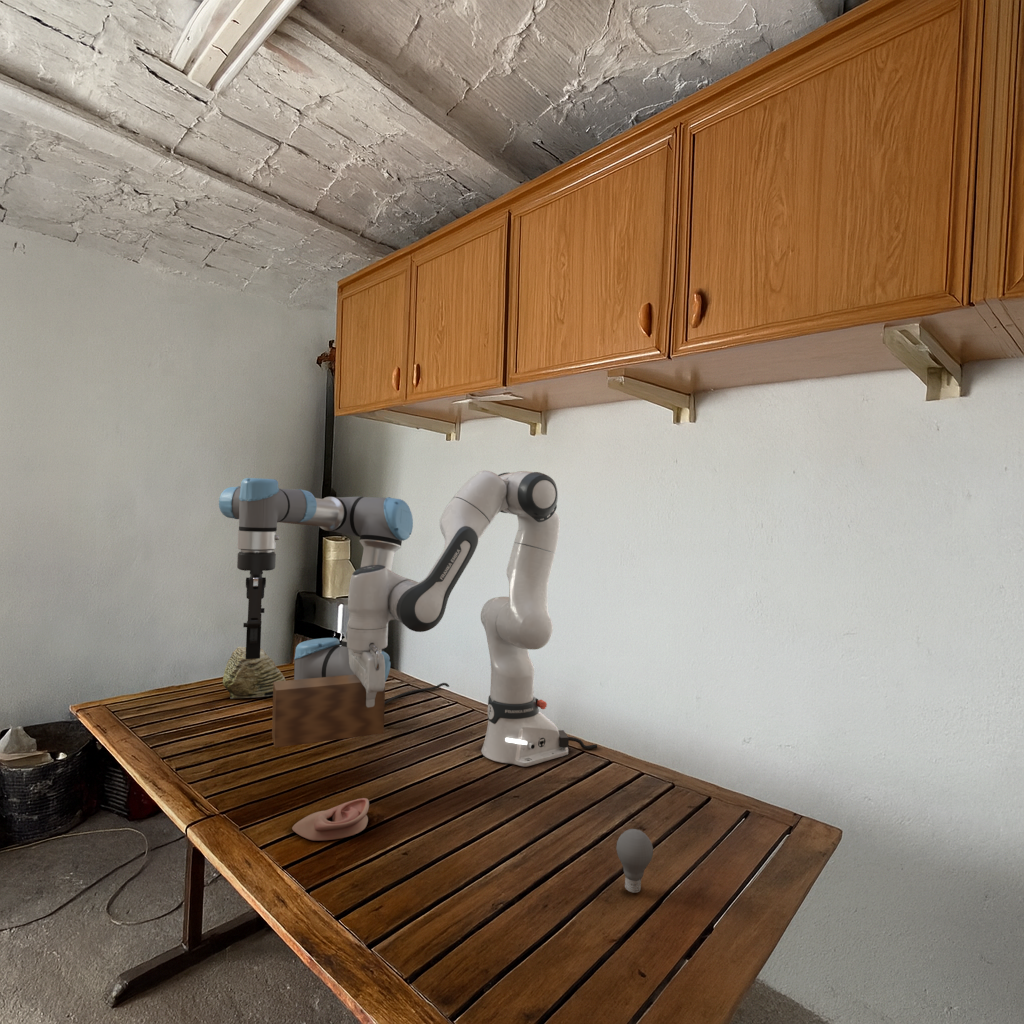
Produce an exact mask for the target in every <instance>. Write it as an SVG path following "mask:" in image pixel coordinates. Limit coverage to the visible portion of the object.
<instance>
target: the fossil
mask: <svg viewBox="0 0 1024 1024" xmlns="http://www.w3.org/2000/svg"><path fill="white" fill-rule="evenodd" d="M222 676H223V677H222V685H223V687H224V688H225V690H226V691H228V693H229V698H230V699H250V698H264V697H271V696H272V697H273V682H276V681H287V680H286V678H285V676H284V674H283V673H282V672H281V669H279V668H278V667H277V665H276V663H275V662H274V660H273V659H272V658H271V657H270V656H269V655H268V654H267V653H266V652H265V650H264V649H263V648H261V647H260V659H246V646H238V647H237V648H236V649H235V650H233V651H232V653H231V656H230V657H229V659H228V660H227V663H226V666H225V668H224V671H223V675H222Z"/></svg>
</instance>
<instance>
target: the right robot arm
mask: <svg viewBox="0 0 1024 1024" xmlns="http://www.w3.org/2000/svg"><path fill="white" fill-rule="evenodd" d="M558 497H559V492H558V486H557V483H556V482H555V480H554V479H553V477H551V476H550V475H547V474H545V473H542V472H539V471H527V470H519V471H514V472H502V473H500V474H497V473H495V472H493V471H490V470H479V471H477V472H476V473H475V474H473V475H472V476H471V477H470V478H469V479H468V480H467V481H466V482H465V483H464V484H463V485H462V486H461V487H460V488H459V490H457V492H456V493H455V494H454V496H453V497H452V498H451V500H450V501H449V502H448V504H447V505H446V507H445V508H444V510H443V512H442V514H441V515H440V519H439V529H440V531H441V534H442V536H443V539H444V547H443V550H442V551H441V553H440V555H439V556H438V558H437V560H435V562H434V564H433V566H432V567H431V569H430V571H429V572H428V574H427V576H426V577H425V578H424V579H423V580H421V581H419V582H418V581H417V580H413V579H411V578H407V577H405V576H403V575H399V574H398V573H395V572H394V571H393V570H392V571H390V570H389V569H387V568H386V567H385V566H383V565H370V566H365V567H361V566H360V567H359V568H357V569H356V570H354V571H353V572H352V574H351V576H350V580H349V585H348V597H347V608H348V613H349V617H348V621H347V625H346V626H347V627H346V631H345V637H346V640H347V647H348V652H349V665H350V669H351V670H352V672H353V673H354V674H355V675H356V676H357V677H358V678H359V680H360V681H361V683H362V685H363V686H364V687H365V689H366V697H365V705H366V706H367V707H373V706H374V705H375V697H376V693H377V692H381V691H383V690H384V688H385V689H386V682H385V660H384V656H383V655H382V654H381V653H382V649H384V650H385V649H386V648H387V647H388V641H389V639H388V637H389V622H390V621H395V620H396V621H397V622H400V623H401V624H402V625H404V626H405V627H406V628H407V629H409V630H410V631H412V632H416V633H423V632H428V631H430V630H432V629H434V628H436V626H438V624H439V623H440V622H441V621H442V619H443V618H444V615H445V612H446V608H447V604H448V601H449V597H450V595H451V594H452V591H453V590H454V588H455V587H456V584H457V583H458V581H459V580H460V578H461V576H462V574H463V573H464V571H465V570H466V568H467V566H468V564H469V563H470V562H471V559H472V557H473V555H474V554H475V552H476V550H477V547H478V544H479V542H480V540H481V539H482V537H483V536H484V534H485V533H486V531H487V530H488V528H489V527H490V525H491V524H492V522H493V521H494V520H495V518H496V516H497V515H498V514H499V513H503V514H510V515H513V516H516V517H517V523H518V524H517V532H516V534H515V537H514V541H513V545H512V549H511V552H510V556H509V560H508V564H507V566H506V577H507V580H508V588H509V589H508V596H496V597H492V598H490V599H488V600H487V601H486V602H485V603H484V604H483V605H482V607H481V610H480V621H481V624H482V626H483V628H484V632H485V635H486V641H487V648H488V653H489V659H490V687H489V688H490V689H489V691H490V693H489V695H488V700H487V727H486V732H485V737H484V741H483V744H482V747H481V749H480V752H481V754H482V756H483V757H485V758H486V759H488V760H490V761H494V762H496V763H502V764H509V765H516V766H519V767H525V768H527V767H531V766H534V765H537V764H541V763H545V762H547V761H551V760H554V759H557V758H562V757H564V756H568V755H569V745H570V742H576V743H578V744H579V746H580V747H581V748H582V749H584V750H593V749H598V744H591V745H586V744H584V742H583V740H581V739H579V738H577V737H574V736H568V735H567V733H566V732H565V730H564V729H559V728H558V726H557V725H556V724H555V723H554V722H553V721H552V720H551V719H550V718H548V717H547V716H546V715H545V714H543V713H542V712H541V711H540V710H539V708H540V709H541V710H545V709H546V708H547V707H548V703H547V701H545V700H543V699H539V698H537V697H535V696H534V692H535V666H534V663H533V661H532V659H531V657H530V654H529V650H533V651H534V650H540V649H542V648H543V647H545V646H546V645H547V644H548V643H549V642H550V640H551V638H552V636H553V631H554V624H553V621H552V618H551V616H550V613H549V604H548V601H549V600H548V595H549V593H548V592H549V581H550V577H551V572H552V569H553V564H554V560H555V557H556V553H557V548H558V545H559V537H560V530H561V529H560V527H561V519H560V516H559V514H558V513H557V512H556V510H557V507H558V505H557V504H558V499H559V498H558Z"/></svg>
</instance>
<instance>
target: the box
mask: <svg viewBox="0 0 1024 1024" xmlns="http://www.w3.org/2000/svg"><path fill="white" fill-rule="evenodd" d="M365 697H366V689H365V687H364V686H363V685H362V683H361V681H360V680H359V678H358V677H357V676H356V675H343V676H332V677H321V678H310V679H298V680H294V679H289V680H286V681H276V682H273V695H272V715H271V716H272V719H271V738H272V743H273V746H274V748H282V747H290V746H298V745H306V744H313V743H321V742H328V741H336V740H344V739H352V738H360V737H368V736H374V735H381V734H384V733H385V705H386V704H385V701H386V687H385V688H384V690H383V691H381V692H377V693H376V697H375V705H374V706H373V707H367V706H366V705H365Z"/></svg>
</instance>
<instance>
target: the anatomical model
mask: <svg viewBox="0 0 1024 1024" xmlns="http://www.w3.org/2000/svg"><path fill="white" fill-rule="evenodd" d="M369 807H370V801H369V799H368V798H366V797H362V798H357V799H356V798H355V799H353V800H350V801H346V802H343V803H341V804H338V805H336V806H334V807H331V808H329V809H326V810H321V811H320V810H319V811H316V812H313V813H311V814H309V815H306V816H305V817H303V818H302V819H299V820H298V821H296V823H295V824H293V826H292V828H291V829H292V831H293V832H294V833H295V834H297V835H299V836H300V837H302V838H305V839H306V840H309V841H314V842H315V841H317V842H319V841H320V842H321V841H332V840H340V839H344V838H348V837H351V836H355V835H356V834H359V833H361V832H362V831H364V830H365V829H366V827H367V825H368V822H369V816H368V815H367V814H368V812H369Z"/></svg>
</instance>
